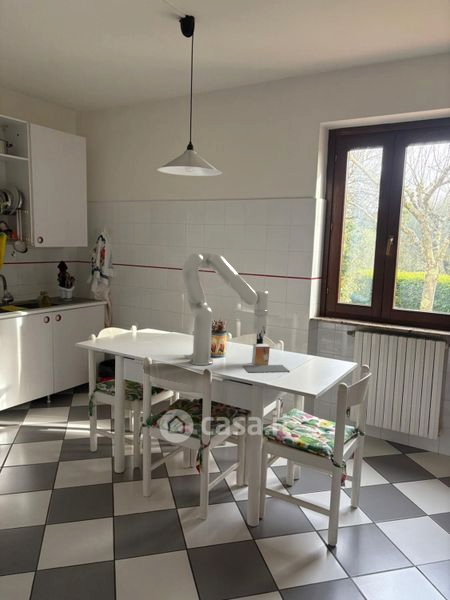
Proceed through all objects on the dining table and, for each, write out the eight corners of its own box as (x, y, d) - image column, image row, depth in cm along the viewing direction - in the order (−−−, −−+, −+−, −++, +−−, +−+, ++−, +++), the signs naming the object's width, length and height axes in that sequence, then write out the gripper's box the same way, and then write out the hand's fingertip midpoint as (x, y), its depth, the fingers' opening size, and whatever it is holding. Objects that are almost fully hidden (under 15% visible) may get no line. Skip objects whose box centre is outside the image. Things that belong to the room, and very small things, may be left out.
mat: (248, 372, 227) (248, 371, 227) (242, 366, 239) (242, 365, 239) (289, 372, 232) (289, 371, 232) (282, 365, 243) (282, 364, 243)
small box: (254, 365, 242) (255, 346, 240) (251, 361, 248) (253, 343, 246) (268, 364, 244) (270, 346, 242) (265, 361, 249) (267, 343, 247)
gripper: (250, 310, 252) (249, 342, 255) (258, 315, 238) (256, 348, 240) (263, 310, 254) (261, 342, 256) (271, 315, 240) (270, 348, 242)
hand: (259, 345), depth 248 cm, fingers closed
